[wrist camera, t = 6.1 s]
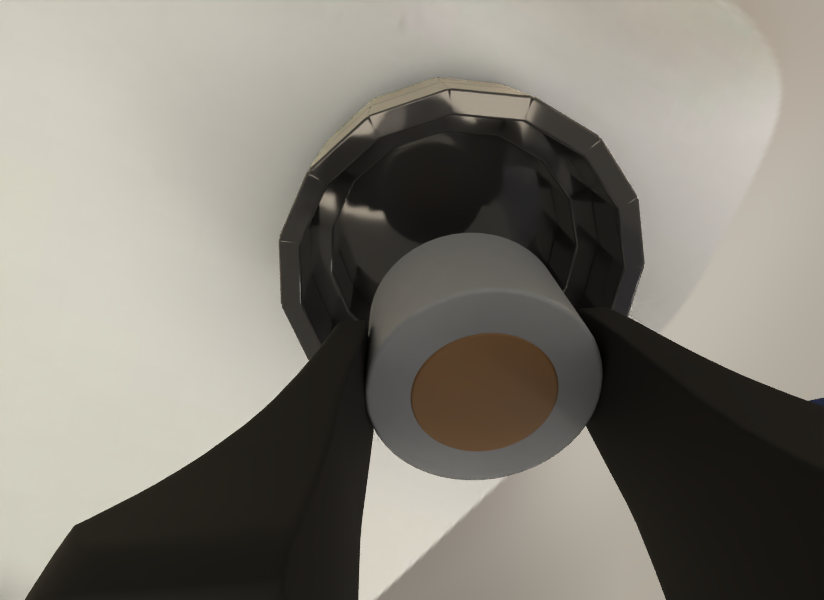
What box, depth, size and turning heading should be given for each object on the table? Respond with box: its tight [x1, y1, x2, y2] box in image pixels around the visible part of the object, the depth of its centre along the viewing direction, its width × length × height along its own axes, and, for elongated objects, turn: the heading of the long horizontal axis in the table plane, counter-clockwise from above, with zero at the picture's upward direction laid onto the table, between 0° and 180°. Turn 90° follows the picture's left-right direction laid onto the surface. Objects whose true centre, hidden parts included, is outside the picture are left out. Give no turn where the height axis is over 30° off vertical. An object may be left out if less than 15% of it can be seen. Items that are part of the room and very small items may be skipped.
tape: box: [365, 233, 603, 480], centre depth 11 cm, size 5×5×3 cm
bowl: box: [279, 77, 644, 360], centre depth 16 cm, size 10×10×4 cm
